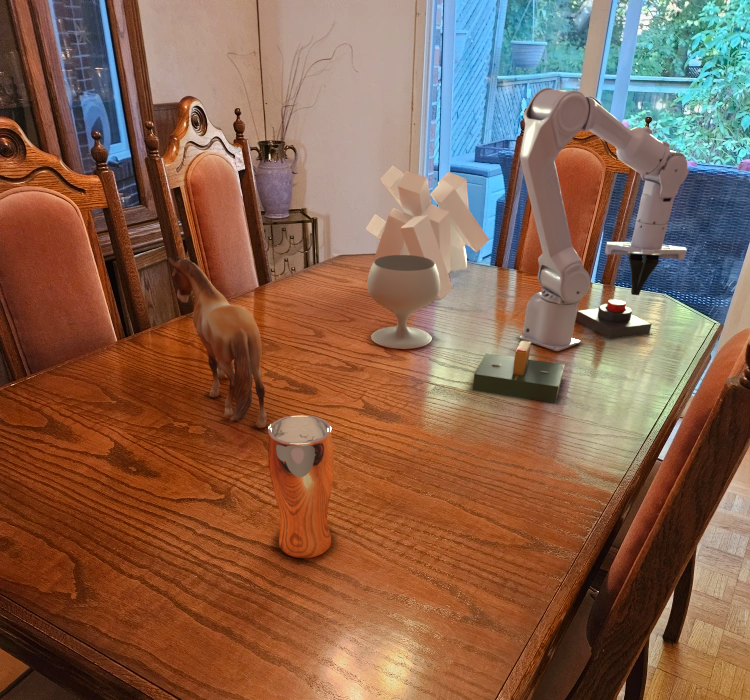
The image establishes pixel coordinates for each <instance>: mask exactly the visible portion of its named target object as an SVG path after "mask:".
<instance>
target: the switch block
mask: <svg viewBox="0 0 750 700" xmlns="http://www.w3.org/2000/svg"><path fill="white" fill-rule="evenodd" d="M607 304H608V303H604V304H601V305H599V306H598V308H589V309H581V310H580V309H579V310H577V315H576V320H575V322H577V323H579V324H581V325H583V326H585V327H587V328H589V329H590V330H593V331H594V332H596V333H598V334H600V335H602V336H603V337H605V338H607V339H609V340H613V339H619V338H621V339H622V338H628V337H629V338H630V337H635V336H641V335H642V336H644V335H650V332H651V328H652V323H651V322H649V321H646V320H644V319H642V318H641V317H638V316H636V315H634V314H633V310H632V308H631V307H628V306H625V310H624V312H613V311H609V310H607Z"/></svg>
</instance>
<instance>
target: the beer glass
mask: <svg viewBox="0 0 750 700" xmlns="http://www.w3.org/2000/svg"><path fill="white" fill-rule="evenodd" d="M267 433H268V447H267V450H268V453H267V454H268V455H267V456H268V470H269V478H270V482H271V486H272V491H273V494H274V497H275V501H276V504H277V508H278V511H279V517H280V530H279V537H278V546H279V548H280V550H281V551H282V552H283V553H284V554H285V555H287V556H289V557H292V558H296V559H312V558H316V557H318V556H321V555H322V554H324V553H326V552H327V551H328V550H329V548H330V547H331V545H332V536H331V532H330V527H329V522H328V510H329V504H330V500H331V499H330V498H331V493H332V487H333V481H334V470H335V469H334V467H335V465H334V464H335V461H334V460H335V459H334V447H333V437H332V427H331V424H330V423H329V422H328V421H327V420H325V419H323V418H321V417H318V416H315V415H308V414H293V415H287V416H284V417H281V418H278V419H276V420H274V421H273V422H272V423H271V424H270V425H269V426H268V429H267Z"/></svg>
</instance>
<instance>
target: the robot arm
mask: <svg viewBox="0 0 750 700" xmlns="http://www.w3.org/2000/svg"><path fill="white" fill-rule="evenodd" d="M523 121H524V130H523V135H522V136H523V137H522V141H521V142H522V143H521V148H520V154H519V158H520V165H521V169H522V173H523V177H524V182H525V186H526V190H527V194H528V198H529V202H530V206H531V211H532V215H533V219H534V223H535V228H536V231H537V236H538V239H539V243H540V248H541V251H542V253H541V254H540V255H539V256H538V258H537V262H538V271H537V272H538V273H537V281H538V284H539V287H541V291H540V292H539V291H537V292H536V293H534V294H533V295H532V296H530V298H529V300H528V302H527V304H526V307H525V313H524V320H523V326H522V334H521V335H519V339H520V340H522V341H528V342H531V344H534V345H536V346H540V347H542V348H545V349H547V350H550V351H553V352H560V351H563V350H565V349H569V348H571V347H574V346H575V345H579V344H581V340H580V339H577V338H574V337H573V336H574V330H575V325H576V315H577V311H579V310H578V309H579V305H580V303H581V301H582V299H584V297H586V295H587V294H588V292H589V290H590V287H591V283H592V282H591V280H592V279H591V276H590V275H591V274H590V273H589V272H588V271H587V270H586V269H585V267H584V265H583V261H582V258H581V257H580V255H579V253H578V252H577V251H576V249H575V248H574V246H573V242H572V238H571V232H570V228H569V223H568V218H567V214H566V209H565V205H564V199H563V194H562V190H561V185H560V181H559V176H558V171H557V166H556V162H555V161H556V159H557V157H558V156H559V154H560V152H561V151H563V149H564V148H565V147H566V146H567V145H568V144H569V143H570V142H571V141H572V140H573V139H574V138H575V137H576V135H577V134H578V133H579V132H580V131H584V132H585V131H589V133H592V134H593V135H595V136H597V138H600V139H601V140H603V141H605V142H607V143H608V144H610V145H612V146H613V147H615V148H616V157H617V159H618V160H619V161H620V162H622V163H623V164H625V165H626V166H628V167H629V168H631V170H633V171H635V172H636V173H639V175H640V178H641V180H642V181H643V182H644V184H643V189H642V193H641V198H640V202H639V207H638V210H637V216H636V220H635V224H634V229H633V233H632V237H631V241H627V242H626V241H606V244H605V250H604V254H605V255H609V256H610V255H621V256H628V262H629V266H630V274H631V275H630V276H631V288H630V289H631V290H630V294H631V295H633V296H640V294H641V291H642V289H643V287H644V285H645V283H646V282H647V280H648V278H649V276H650V275H651V274H652V273H653V271H654V270H655V269H656V268H657V266H658V265H659V262H660V260H659V259H661V258H662V259H673V260H678V261H685V258H686V254H687V248H686V247H684V246H675V245H668V244H664V241H665V236H666V232H667V230H668V225H669V221H670V217H671V213H672V208H673V204H674V201H675V197H677V195H678V194H679V190H680V187H681V185H682V184H683V182H684V181H686V179H687V177H688V175H689V172H690V169H689V168H688V161H687V158H686V156H685V154H683V153H682V152H679V151H674V150H671V149H670V143H669V142H667V141H664V140H663V141H661V140H659V139H657V138H656V137H655V136H654V135H653V132H654V130H653V129H651V128H650V127H648V126H642V127H641V126H635V127H632V128H631V129H629V127H627V126H626V125H625V124H624V123H623V122H621V121H620V120H619V119H617V117H615V116H614V115H613V114H611V113H610V112H609V111H608V110H607V109H605V108H604V106H602V105H600V104H599V103H598V102H597V101H596V100H595V99H594V98H592V97H589V96H585V94H583V92H581V91H578V90H562V89H561V90H559V89H554V88H551V87H545V88H542V89H540V90H538V91H537V92H536V93H535V94H533V97H531V99H530V101H529V103H528V105H527V107H526V109H525V110H524V112H523Z"/></svg>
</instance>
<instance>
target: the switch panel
mask: <svg viewBox="0 0 750 700" xmlns="http://www.w3.org/2000/svg"><path fill="white" fill-rule="evenodd" d="M514 360H515V356H507V355H501V354H500V355H499V354H492V353H485V354H484V356H483V358H482V359H481V362H480V363H479V365H478V367H477V368H476V370H475V372H474V373H473V382H472V391H475V392H482V393H487V394H495V395H502V396H506V397H514V398H519V399H527V400H532V401H537V402H538V401H539V402H544V403H545V402H546V403H552V404H556V402H557V399H558V396H559V391H560V387H561V385H562V382H563V375H564V370H565V364H563V363H556V362H548V361H542V360H535V359H529V360H528V365H527V367H526V370H525V372H524V375H516V374H513V367H514Z"/></svg>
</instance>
